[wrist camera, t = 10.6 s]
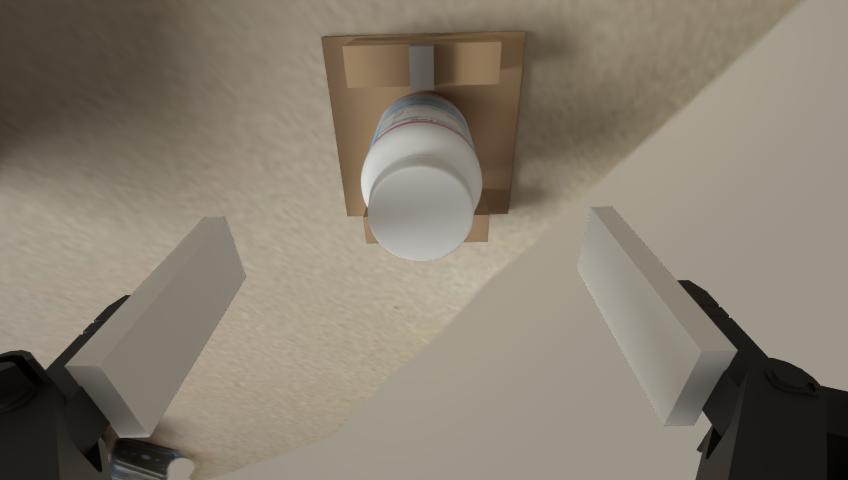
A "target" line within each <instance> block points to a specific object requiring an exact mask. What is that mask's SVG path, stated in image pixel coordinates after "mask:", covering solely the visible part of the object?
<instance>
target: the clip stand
mask: <svg viewBox="0 0 848 480" xmlns="http://www.w3.org/2000/svg"><path fill="white" fill-rule="evenodd" d="M525 37H526V32H525V31H502V32H466V33H431V34H396V35H361V36H325V37H321V39H322V46H323V53H324V59H325V66H326V73H327V80H328V87H329V93H330V100H331V107H332V114H333V121H334V127H335V134H336V141H337V148H338V155H339V161H340V168H341V175H342V182H343V189H344V195H345V202H346V209H347V216H363V219H364V227H365V235H366V243H379V242H378V241H377V239H376V238H375V236H374V235H373V233H372V231H371V228H370V225H369V221H368V212H367V211H368V208H367V206H366V203H365V201H364V198H363V194H362V189H361V174H362V169H363V165H364V162H365V159H366V156H367V153H368V151H369V148H370V145H371V142H372V140H373V137H374V134H375V131H376V129H377V126H378V124H379V121H380V119H381V117H382V115H383V113H384V112H385V111H386V109H387V108H388V107H389V106H390V105H391V104H392V103H393V102H394V101H396V100H397V99H399V98H401V97H403V96H405V95H408V94H412V93H418V92H424V93H431V94H435V95H438V96H440V97H442V98H445V99H446V100H448V101H449V102H451V103H452V104H453V105H455V106H456V107H457V108H458V109H459V111H460V112H461V113H462V115H463V116H464V118H465V120H466V123H467V125H468V128H469V131H470V135H471V138H472V142H473V145H474V149H475V151H476V155H477V158H478V161H479V165H480V169H481V175H482V192H481V197H480V200H479V203H478V205H477V207H476V209H475V211H474V220H473V225H472V228H471V230H470V232H469V234H468V236H467V238H466V239H465V241H464V242H488V230H489V216H490V215H489V214H508V210H509V199H510V189H511V179H512V169H513V159H514V149H515V138H516V128H517V118H518V108H519V98H520V87H521V77H522V67H523V57H524V47H525Z"/></svg>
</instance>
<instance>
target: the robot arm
mask: <svg viewBox="0 0 848 480" xmlns="http://www.w3.org/2000/svg"><path fill="white" fill-rule="evenodd" d="M577 270H578V272H579V274H580V276H581V278H582V279H583V281H584V283H585V285H586V287H587V288H588V290H589V292H590V294H591V296H592V297H593V299H594V301H595V303H596V305H597V306H598V308H599V310H600V312H601V314H602V315H603V317H604V319H605V321H606V323H607V325H608V326H609V328H610V330H611V332H612V334H613V335H614V337H615V339H616V341H617V343H618V344H619V346H620V348H621V350H622V352H623V354H624V355H625V357H626V359H627V361H628V362H629V364H630V366H631V368H632V370H633V372H634V373H635V375H636V377H637V379H638V381H639V382H640V384H641V386H642V388H643V389H644V391H645V393H646V395H647V397H648V399H649V401H650V402H651V404H652V406H653V407H654V410H655V411H656V413H657V415H658V417H659V418H660V420H661V422H662V424H663V426H688V425H689V426H691V425H695V423H696V421H697V419H698V418H699V416H700V414H701V412H702V411H703V412H704V413H705V415H706V416H707V418H708V419H709V421H710V422H711V424H712V426H711V428H710V429H709V431H708V433H707V434H706V436H705V437H704V439H703V441H702V442H701V444H700V445H699V447H698V448H697V450H698V451H699V452H702V456H701V460H700V464H699V468H698V473H697V476H696V480H848V392H847V391H842V390H838V389H834V388H829V387H824V386H820V384H819V383H818V382H817V381H816V380H815V379H814V378H813V377H812V376H810V375H809V374H808V373H806V372H805V371H803V370H802V369H800V368H798V367H796V366H794V365H792V364H790V363H788V362H785V361H781V360H778V359H775V358H768V357H767V356H766V354H765V353H764V352H763V351H762V350H761V349H760V348H759V347H758V346H757V345H756V344H755V343H754V342H753V340H752V339H751V338H750V337H749V336H748V335H747V334H746V333H745V332H744V331H743V330H742V329H741V328H740V327H739V326H738V325H737V323H736V322H735V321H734V320H733V319H732V318H729V315H728V314H727V313H726V312H725V311H724V310H723V308H722V307H719V305H718V303H717V302H716V301H715V300H714V299H713V298H712V297H711V296H710V295H709V294H708V293H707V291H705V290H703V289H702V288H700V287H698V286H697V285H696V284H694V283H692V282H691V281H689V280H676V279H675V278H674V277H673V276H672V274H671V273H670V272H669V271H668V270H667V269H666V268H665V266H663V264H662V263H661V262H660V261H659V259H658V258H657V257H656V256H655V255H654V254H653V253H652V252H651V250H650V249H649V248H648V247H647V246H646V245H645V243H644V242H643V241H642V240H641V239H640V238H639V237H638V235H637V234H636V233H635V232H634V231H633V230H632V229H631V227H630V226H629V225H628V224H627V223H626V222H625V221H624V219H623V218H622V217H621V216H620V215H619V214H618V213H617V211H616V210H615V209H614V208H613V207H612V206H611V207H591V208H590V212H589V217H588V221H587V226H586V230H585V235H584V239H583V243H582V248H581V252H580V257H579V261H578V266H577ZM245 278H246V275H245V272H244V269H243V266H242V263H241V261H240V258H239V255H238V252H237V249H236V246H235V243H234V240H233V237H232V234H231V231H230V228H229V225H228V222H227V220H226V217H204V218H203V219H202V220H201V221H200V222H199V223H198V225H197V226H196V227H195V228H194V229H193V230H192V231H191V232H190V233H189V234H188V235H187V236H186V237H185V238H184V239H183V240H182V242H181V243H180V244H179V245H178V246H177V247H176V248H175V249H174V250H173V251H172V252H171V253H170V254H169V255H168V256H167V257H166V259H165V260H164V261H163V262H162V263H161V264H160V265H159V266H158V267H157V268H156V269H155V270H154V271H153V272H152V273H151V275H150V276H149V277H148V278H147V279H146V280H145V281H144V282H143V283H142V284H141V285H140V286H139V287H138V288H137V289H136V290H135V292H134V293H133V294H132V295H125V296H124V297H122V298H120V299H119V300H117V301H116V302H114V303H113V304H111V305H110V306H108V307H107V308H106V309H105V310H104V311H103V312H102V313H101V314H100V315H99V316H98V317H97V318H96V319H95V320H94V323H91V324H90V325H89V326H88V327H87V328H86V329H85V330H84V331H83V335H79V336H78V337H77V338H76V339H75V340H74V342H73V343H72V344H71V345H70V346H69V347H68V348H67V349H66V350H65V351H64V352H63V353H62V354H61V355H60V356H59V357H58V358H57V359H56V360H55V361H54V362H53V363H52V364H51V365H50V366H49V367H48V368H47V369H46V370H44V368H43V367H42V366H41V365H40V364H39V362H38V361H37V360H36V359H35V358H34V356H33V355H32V354H31V353H30V352H27V351H23V350H19V351H9V352H6V353H3V354H0V480H112V478H111V472H110V467H109V461H108V455H107V449H106V445H105V444H104V442H103V440H102V439H101V438H100V437H101V435H102V434H103V433H104V431H105V430H106V428H107V427H108V426H109V424H110V425H111V427H112V428H113V429H114V431H115V432H116V433H117V434H118V436H119V437H120V438H135V437H150V436H151V434H152V433H153V431H154V429H155V428H156V426H157V424H158V423H159V421H160V419H161V418H162V416H163V414H164V413H165V411H166V409H167V408H168V406H169V404H170V403H171V401H172V399H173V398H174V396H175V394H176V393H177V391H178V389H179V388H180V386H181V384H182V383H183V381H184V379H185V378H186V376H187V374H188V373H189V371H190V369H191V368H192V366H193V364H194V363H195V361H196V360H197V358H198V356H199V355H200V353H201V351H202V350H203V348H204V346H205V345H206V343H207V341H208V340H209V338H210V336H211V335H212V333H213V331H214V330H215V328H216V326H217V325H218V323H219V321H220V320H221V318H222V316H223V315H224V313H225V311H226V310H227V308H228V306H229V305H230V303H231V301H232V300H233V298H234V296H235V295H236V293H237V291H238V290H239V288H240V286H241V285H242V283H243V282H244V280H245Z"/></svg>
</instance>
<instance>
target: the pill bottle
mask: <svg viewBox="0 0 848 480" xmlns="http://www.w3.org/2000/svg"><path fill="white" fill-rule="evenodd" d="M361 189H362V194H363V198H364V201H365V203H366V206H367V208H368V211H367V212H368V221H369V225H370V228H371V231H372V233H373V235H374V236H375V238H376V239H377V241H378V242H379V243H380V244H381V245H382V246H383V247H384V248H385V249H387V250H388V251H389V252H391V253H392V254H394V255H396V256H399V257H401V258H404V259H408V260H414V261H429V260H434V259H438V258H441V257H443V256H446V255H448V254H450V253H451V252H453V251H454V250H456V249H457V248H458V247H459V246H460V245H461V244H462V243H463V242H464V241H465V239H466V238H467V236H468V234H469V232H470V230H471V228H472V225H473V220H474V211H475V209H476V207H477V205H478V203H479V200H480V197H481V192H482V175H481V169H480V165H479V161H478V158H477V155H476V151H475V149H474V145H473V142H472V138H471V135H470V131H469V128H468V125H467V123H466V120H465V118H464V116H463V115H462V113H461V112H460V111H459V109H458V108H457V107H456V106H455V105H453V104H452V103H451V102H449V101H448V100H446V99H445V98H442V97H440V96H438V95H435V94H431V93H424V92H418V93H412V94H408V95H405V96H403V97H401V98H399V99H397V100H396V101H394V102H393V103H392V104H391V105H390V106H389V107H388V108H387V109H386V111H385V112H384V113H383V115H382V117H381V119H380V121H379V124H378V126H377V129H376V131H375V134H374V137H373V140H372V142H371V145H370V148H369V151H368V153H367V156H366V159H365V162H364V165H363V169H362V174H361Z"/></svg>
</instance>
